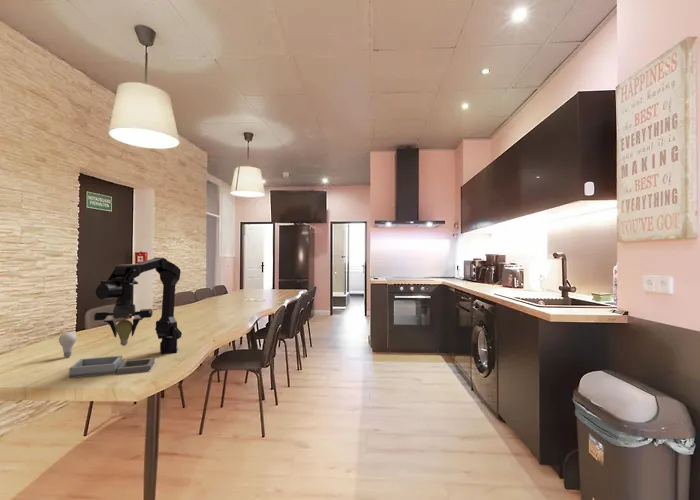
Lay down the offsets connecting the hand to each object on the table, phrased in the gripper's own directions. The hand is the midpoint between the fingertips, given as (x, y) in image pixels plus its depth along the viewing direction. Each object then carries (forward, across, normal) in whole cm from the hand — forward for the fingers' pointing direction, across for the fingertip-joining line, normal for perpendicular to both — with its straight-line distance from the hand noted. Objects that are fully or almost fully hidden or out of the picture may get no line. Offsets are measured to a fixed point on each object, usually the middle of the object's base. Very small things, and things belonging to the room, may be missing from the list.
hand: (124, 336), depth 138 cm
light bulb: (+4, 0, 0) cm, 4 cm away
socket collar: (+13, +5, -1) cm, 14 cm away
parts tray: (+13, -9, +2) cm, 16 cm away
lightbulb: (+13, -25, +27) cm, 39 cm away
